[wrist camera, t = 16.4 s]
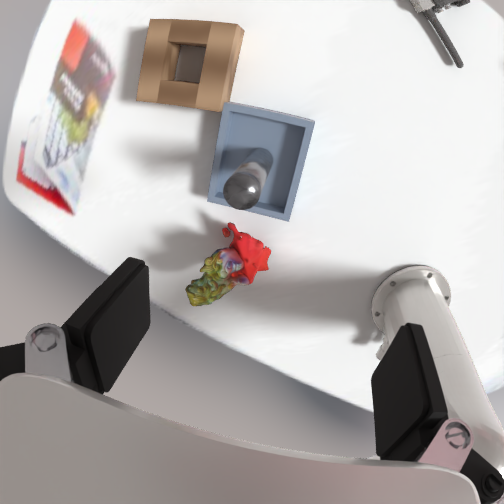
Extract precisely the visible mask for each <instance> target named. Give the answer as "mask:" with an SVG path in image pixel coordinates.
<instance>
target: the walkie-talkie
mask: <svg viewBox="0 0 504 504" xmlns="http://www.w3.org/2000/svg"><path fill="white" fill-rule="evenodd" d="M410 2H411V3H412V4H413V6H414V9H415V10H416V12H417V13H419V12H423V13H424V15H425V16H426V18H427V19H428V20H430V22H431V24H432V25H433V27H434V28H435V30H436V32H437V33H438V35H439V36H440V38H441V40H442V41H443V43H444V45H445V47H446V48H447V49H448V51H449V53H450V55H451V56H452V58H453V60H454V62H455V64H456V66H457V67H458V68H462V67H463V62H462V60H461V58H460V56H459V55H458V53H457V51H456V49H455V47H454V46H453V44H452V42H451V40H450V39H449V37H448V35H447V34H446V32H445V30H444V29H443V27H442V25H441V24H440V22H439V21H438V19H437V18H436V15H435V13H434V12H433V10H435V11H437V12H438V13H440V12H442V11H443V9H442V8H443V7H445V9H449V8H451V6H450V4H451V3H453V2H457V3H456V5H457V7H460V6H463V5H465V4H468V3H470V0H410ZM432 9H433V10H432Z"/></svg>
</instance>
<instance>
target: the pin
mask: <svg viewBox="0 0 504 504" xmlns="http://www.w3.org/2000/svg"><path fill="white" fill-rule="evenodd" d="M272 165H273V156H272V154H271V153H270V152H269V151H268V150H267V149H264V148H256V149H254V150H252V151H251V152H250V154H249V155H248V156H247V157H246V158H245V160H244V161H243V162H242V163H241V165H240V166H239V167H238V168H237V170H236V171H235V172H234V173H233V175H232V176H230V177H229V179H228V180H227V181H226V183H225V184H224V187H223V195H224V198H225V200H226V202H227V203H228V204H229V205H230V206H232V207H233V208H235V209H239V210H247V209H250V208H252V207H253V206H255V205H256V204H257V202H258V200H259V198H260V195H261V192H262V189H263V187H264V184H265V182H266V180H267V177H268V175H269V172H270V170H271V168H272Z"/></svg>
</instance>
